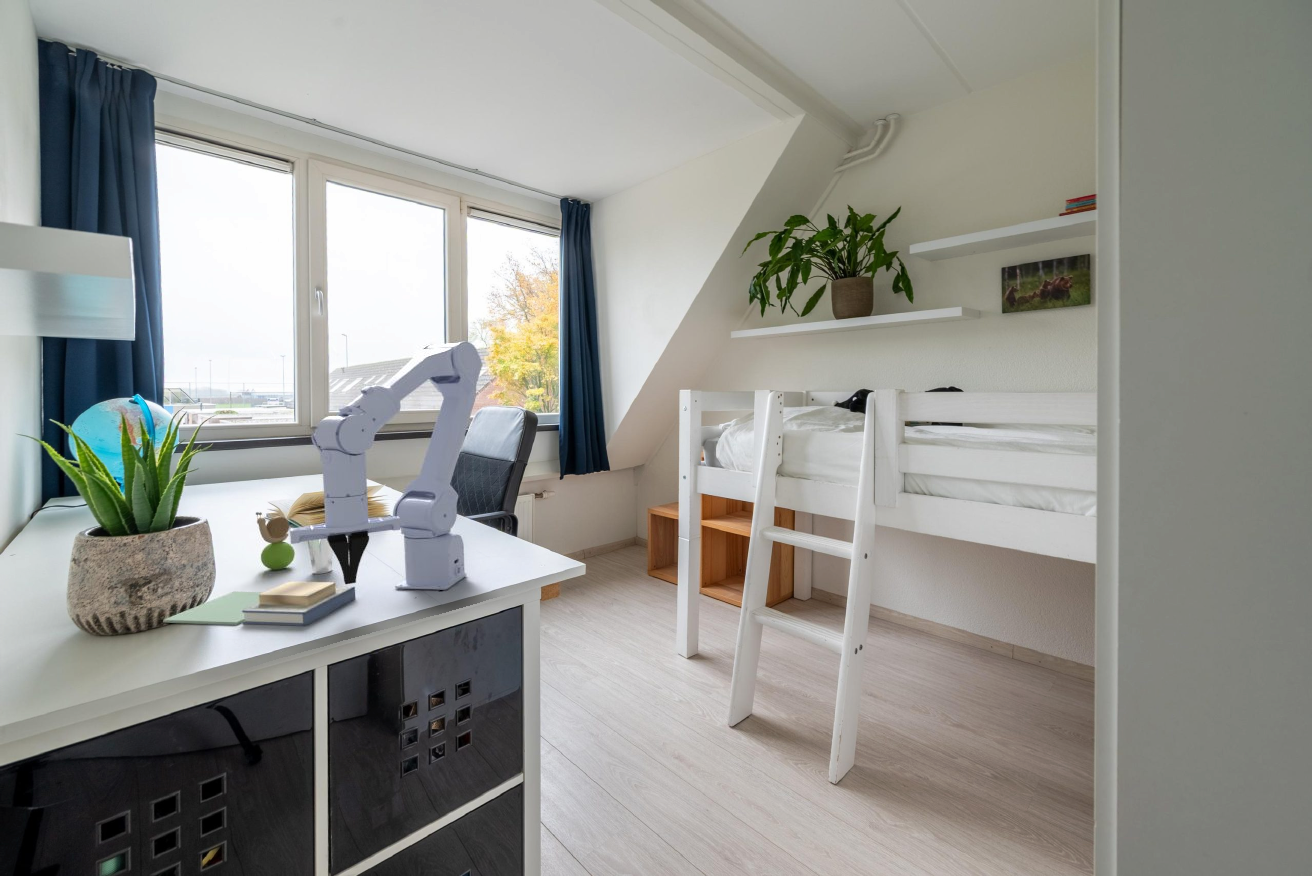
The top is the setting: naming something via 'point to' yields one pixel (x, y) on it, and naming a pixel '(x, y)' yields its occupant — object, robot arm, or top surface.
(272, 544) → the snail figurine
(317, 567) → the milkshake
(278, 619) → the notebook
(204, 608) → the mat
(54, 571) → the top surface
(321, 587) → the tile
